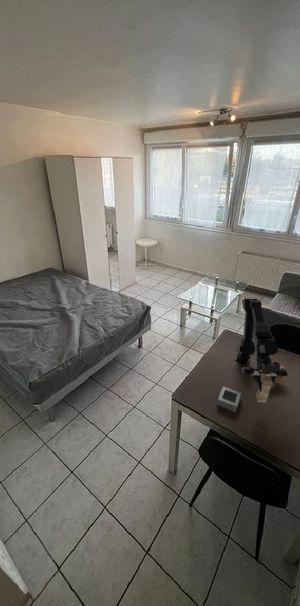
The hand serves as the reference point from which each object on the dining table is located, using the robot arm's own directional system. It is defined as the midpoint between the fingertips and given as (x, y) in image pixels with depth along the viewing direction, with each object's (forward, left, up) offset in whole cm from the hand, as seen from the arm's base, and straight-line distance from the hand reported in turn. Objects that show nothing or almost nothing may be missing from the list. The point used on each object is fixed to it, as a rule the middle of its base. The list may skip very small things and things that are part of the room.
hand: (264, 391), depth 115 cm
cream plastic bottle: (-1, +1, -7) cm, 7 cm away
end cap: (-12, -7, -13) cm, 19 cm away
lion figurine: (-7, +22, -14) cm, 26 cm away
